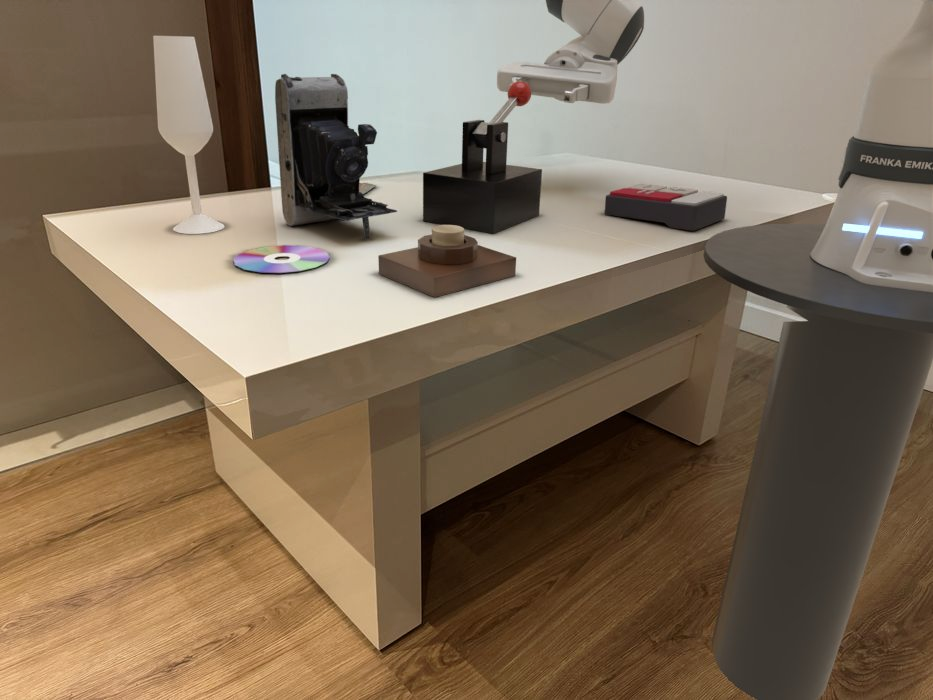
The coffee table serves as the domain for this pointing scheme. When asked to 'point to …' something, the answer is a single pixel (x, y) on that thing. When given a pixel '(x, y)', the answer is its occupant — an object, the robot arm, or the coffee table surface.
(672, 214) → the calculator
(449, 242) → the timer button
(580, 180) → the coffee table surface
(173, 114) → the champagne flute
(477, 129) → the red-knobbed metal lever
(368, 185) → the map
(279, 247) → the cd
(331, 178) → the vintage camera
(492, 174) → the lever stand
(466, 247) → the block
